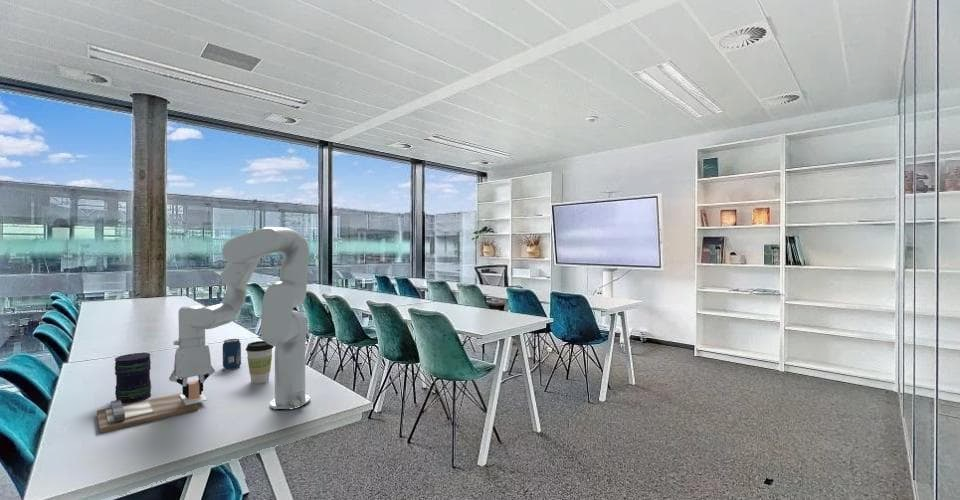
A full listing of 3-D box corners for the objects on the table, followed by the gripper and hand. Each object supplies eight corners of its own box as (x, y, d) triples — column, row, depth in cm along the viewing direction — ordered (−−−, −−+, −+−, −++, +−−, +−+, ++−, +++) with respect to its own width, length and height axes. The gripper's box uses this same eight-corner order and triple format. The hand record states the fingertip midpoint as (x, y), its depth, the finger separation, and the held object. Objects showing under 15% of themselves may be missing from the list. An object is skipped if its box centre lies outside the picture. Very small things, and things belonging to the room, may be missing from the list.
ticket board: (198, 410, 140) (197, 398, 139) (99, 433, 123) (99, 420, 123) (187, 395, 152) (186, 385, 152) (96, 415, 136) (96, 402, 136)
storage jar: (156, 396, 152) (155, 355, 151) (122, 406, 143) (121, 361, 143) (143, 391, 157) (143, 351, 156) (110, 400, 148) (109, 357, 148)
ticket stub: (207, 400, 144) (207, 384, 144) (186, 405, 140) (185, 389, 140) (199, 391, 153) (199, 376, 152) (179, 395, 148) (179, 380, 148)
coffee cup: (253, 387, 162) (252, 347, 161) (241, 381, 168) (240, 344, 167) (278, 380, 169) (278, 342, 169) (266, 375, 175) (266, 339, 175)
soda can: (223, 366, 188) (223, 339, 188) (241, 364, 191) (241, 337, 191) (221, 370, 182) (221, 342, 182) (240, 368, 185) (240, 341, 185)
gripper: (164, 348, 137) (165, 404, 138) (222, 340, 149) (223, 392, 149) (160, 344, 143) (161, 398, 143) (216, 336, 154) (217, 386, 155)
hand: (193, 394), depth 146 cm, fingers closed on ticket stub, 3 cm apart
